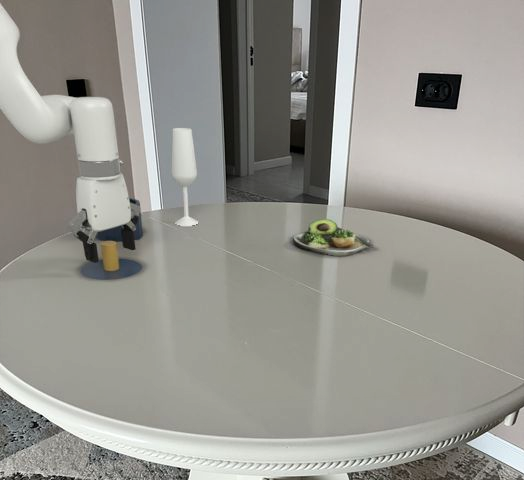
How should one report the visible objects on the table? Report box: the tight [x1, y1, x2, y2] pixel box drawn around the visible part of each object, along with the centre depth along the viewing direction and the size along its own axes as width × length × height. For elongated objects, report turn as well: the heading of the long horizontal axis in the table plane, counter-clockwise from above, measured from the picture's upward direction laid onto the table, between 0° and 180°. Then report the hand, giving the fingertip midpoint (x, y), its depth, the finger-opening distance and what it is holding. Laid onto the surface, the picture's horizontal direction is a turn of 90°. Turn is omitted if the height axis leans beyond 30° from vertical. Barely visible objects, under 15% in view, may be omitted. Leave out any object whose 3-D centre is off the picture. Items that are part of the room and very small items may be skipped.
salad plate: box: [292, 218, 376, 257], centre depth 130 cm, size 19×18×5 cm
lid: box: [79, 241, 143, 281], centre depth 110 cm, size 13×13×7 cm
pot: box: [95, 197, 144, 243], centre depth 132 cm, size 12×17×8 cm
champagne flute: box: [171, 127, 199, 227], centre depth 140 cm, size 7×7×24 cm
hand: (111, 254), depth 110 cm, fingers open, 9 cm apart
